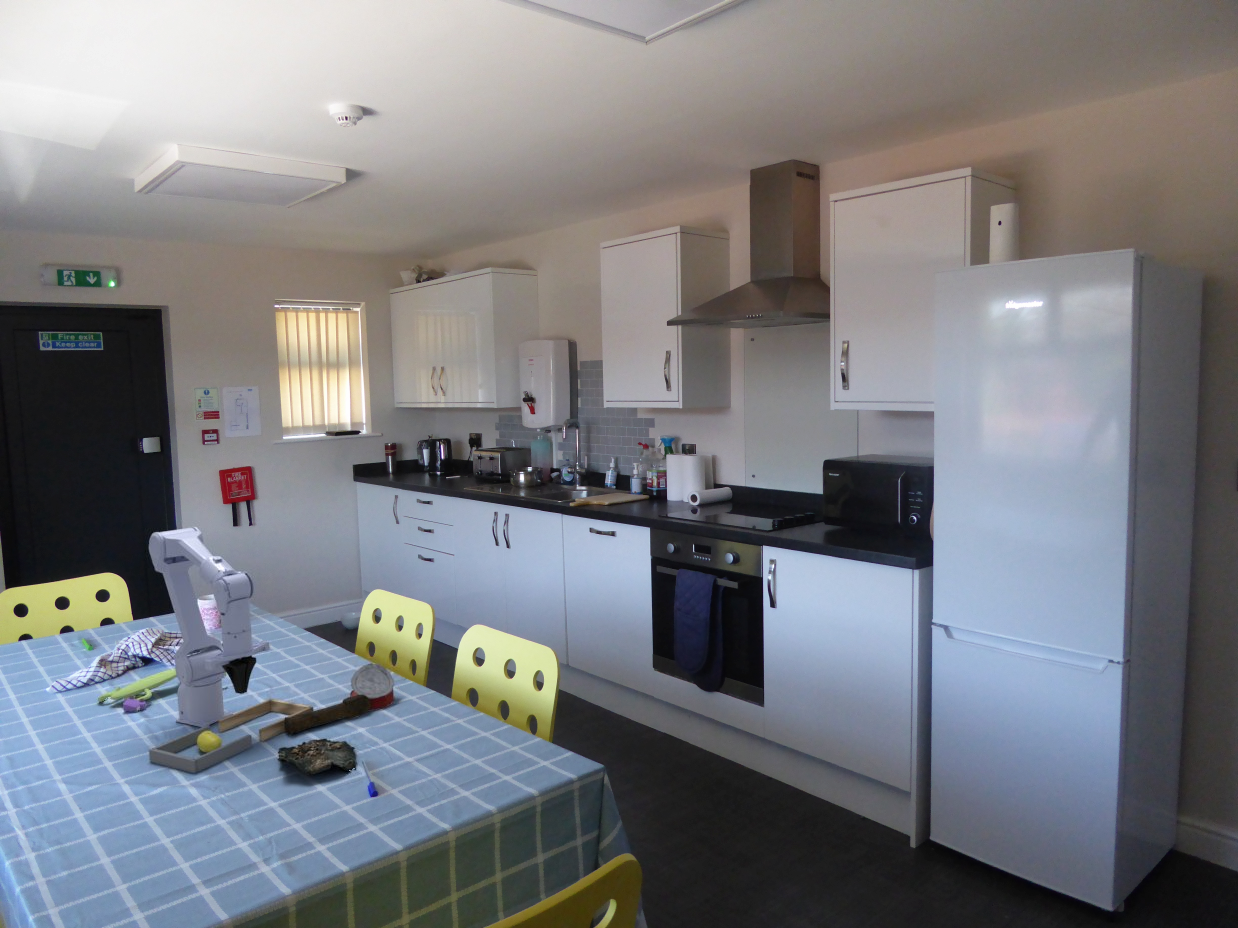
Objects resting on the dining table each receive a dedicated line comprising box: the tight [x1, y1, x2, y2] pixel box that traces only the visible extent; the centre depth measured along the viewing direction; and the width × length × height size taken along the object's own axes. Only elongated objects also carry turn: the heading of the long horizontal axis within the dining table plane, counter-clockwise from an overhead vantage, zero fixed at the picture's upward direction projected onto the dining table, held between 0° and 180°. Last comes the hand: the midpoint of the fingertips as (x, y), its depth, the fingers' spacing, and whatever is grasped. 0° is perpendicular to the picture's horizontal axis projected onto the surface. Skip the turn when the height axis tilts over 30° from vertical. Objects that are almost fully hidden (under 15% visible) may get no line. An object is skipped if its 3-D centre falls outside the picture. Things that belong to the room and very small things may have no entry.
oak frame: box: [217, 698, 315, 742], centre depth 183 cm, size 14×14×2 cm
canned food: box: [349, 662, 395, 711], centre depth 194 cm, size 11×10×10 cm
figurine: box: [97, 668, 227, 712], centre depth 205 cm, size 18×27×6 cm
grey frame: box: [148, 725, 253, 774], centre depth 169 cm, size 14×13×2 cm
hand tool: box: [283, 694, 372, 737], centre depth 183 cm, size 19×4×5 cm, turn 128°
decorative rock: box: [277, 738, 357, 776], centre depth 163 cm, size 19×6×15 cm
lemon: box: [196, 730, 223, 754], centre depth 171 cm, size 4×8×4 cm, turn 41°
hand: (241, 692), depth 177 cm, fingers closed
